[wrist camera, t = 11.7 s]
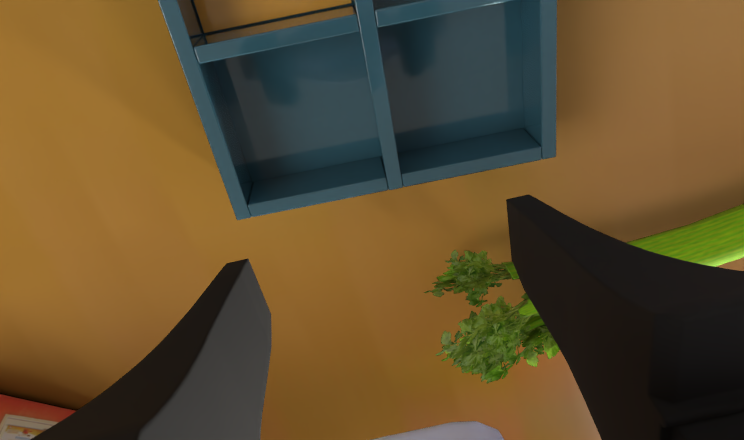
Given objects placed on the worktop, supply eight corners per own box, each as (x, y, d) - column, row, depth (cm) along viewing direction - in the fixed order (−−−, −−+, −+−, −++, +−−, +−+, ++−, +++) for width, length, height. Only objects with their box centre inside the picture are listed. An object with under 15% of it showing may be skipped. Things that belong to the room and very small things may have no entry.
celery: (953, 156, 29) (430, 351, 29) (965, 26, 26) (389, 243, 27) (1112, 192, 23) (461, 433, 24) (1149, 32, 20) (413, 307, 21)
